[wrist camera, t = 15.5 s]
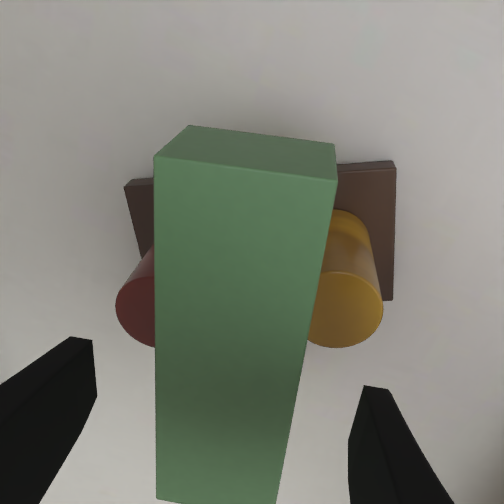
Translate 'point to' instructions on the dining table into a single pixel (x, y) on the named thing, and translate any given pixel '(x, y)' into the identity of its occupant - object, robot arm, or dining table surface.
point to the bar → (233, 305)
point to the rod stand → (333, 266)
